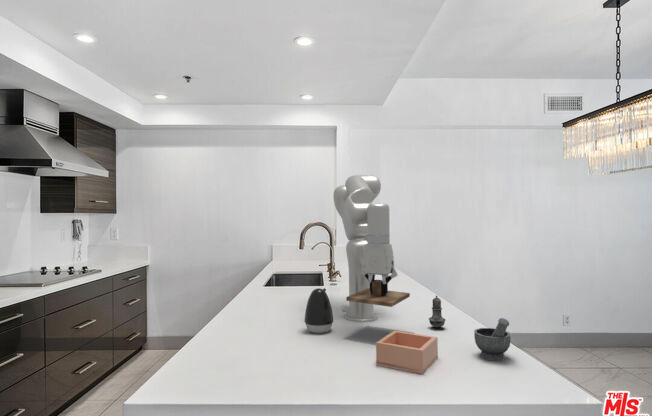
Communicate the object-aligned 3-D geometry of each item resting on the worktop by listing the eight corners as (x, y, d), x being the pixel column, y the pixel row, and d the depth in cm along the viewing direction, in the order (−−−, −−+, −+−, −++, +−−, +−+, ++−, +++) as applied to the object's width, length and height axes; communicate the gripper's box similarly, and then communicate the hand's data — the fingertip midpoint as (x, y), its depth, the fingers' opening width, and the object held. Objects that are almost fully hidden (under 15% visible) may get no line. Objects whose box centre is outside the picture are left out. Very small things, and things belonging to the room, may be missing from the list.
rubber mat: (343, 339, 130) (343, 338, 130) (367, 326, 146) (367, 325, 146) (394, 349, 121) (394, 348, 121) (415, 333, 136) (414, 332, 136)
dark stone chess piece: (446, 332, 138) (445, 297, 138) (429, 331, 139) (428, 296, 139) (445, 327, 143) (444, 293, 144) (428, 326, 144) (427, 293, 145)
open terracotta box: (376, 364, 108) (376, 342, 108) (394, 350, 119) (394, 330, 119) (423, 374, 101) (422, 350, 101) (437, 358, 112) (437, 337, 112)
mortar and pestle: (467, 352, 117) (466, 311, 117) (494, 349, 119) (494, 309, 119) (493, 366, 106) (492, 321, 106) (522, 362, 108) (521, 318, 108)
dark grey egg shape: (338, 329, 143) (337, 286, 143) (326, 337, 133) (325, 291, 133) (312, 326, 147) (312, 285, 147) (299, 334, 137) (298, 289, 138)
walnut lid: (346, 300, 132) (346, 282, 131) (367, 291, 145) (367, 275, 145) (391, 306, 123) (391, 287, 123) (409, 296, 137) (409, 279, 137)
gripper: (351, 240, 135) (351, 293, 135) (397, 242, 126) (397, 299, 127) (361, 238, 141) (361, 289, 142) (405, 240, 133) (405, 295, 133)
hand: (378, 293), depth 134 cm, fingers closed on walnut lid, 3 cm apart
